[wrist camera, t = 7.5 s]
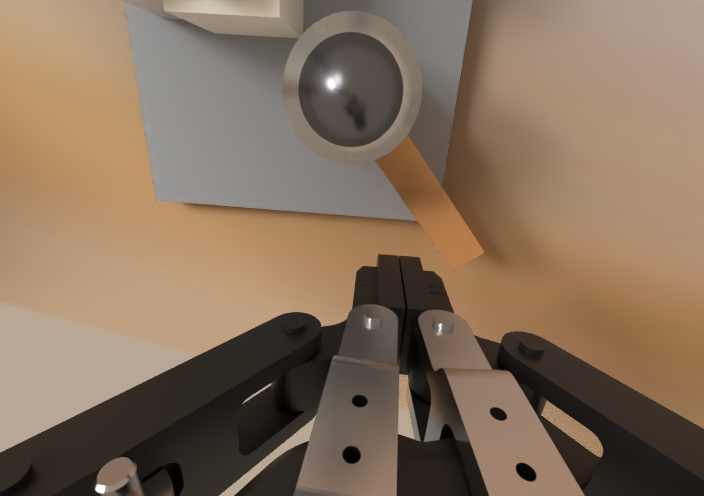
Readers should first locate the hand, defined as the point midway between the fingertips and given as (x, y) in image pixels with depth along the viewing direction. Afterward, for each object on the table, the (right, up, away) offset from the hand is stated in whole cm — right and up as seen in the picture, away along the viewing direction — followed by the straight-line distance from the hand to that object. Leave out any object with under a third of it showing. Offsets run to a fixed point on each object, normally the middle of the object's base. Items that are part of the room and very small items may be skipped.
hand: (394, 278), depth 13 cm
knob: (+1, +6, +6) cm, 9 cm away
